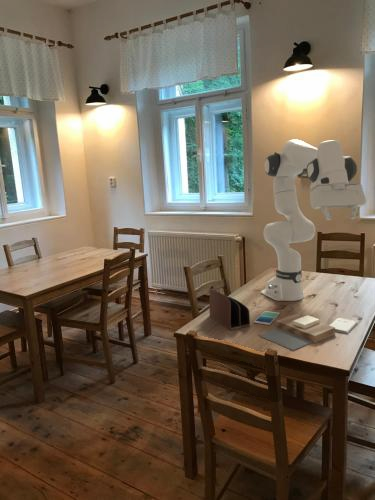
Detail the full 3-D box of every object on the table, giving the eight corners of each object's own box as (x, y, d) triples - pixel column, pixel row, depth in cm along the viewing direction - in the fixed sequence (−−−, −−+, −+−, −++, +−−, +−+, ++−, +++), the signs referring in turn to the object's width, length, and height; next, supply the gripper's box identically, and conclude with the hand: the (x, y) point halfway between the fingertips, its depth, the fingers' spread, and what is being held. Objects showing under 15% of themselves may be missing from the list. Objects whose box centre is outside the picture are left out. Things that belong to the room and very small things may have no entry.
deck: (275, 327, 171) (275, 320, 170) (295, 320, 177) (295, 313, 177) (315, 343, 155) (315, 335, 154) (334, 334, 161) (334, 327, 160)
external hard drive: (326, 330, 166) (337, 320, 176) (347, 335, 161) (357, 324, 171) (326, 327, 166) (337, 317, 175) (347, 331, 161) (357, 320, 170)
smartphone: (280, 312, 186) (269, 324, 173) (280, 314, 186) (269, 326, 174) (264, 310, 190) (253, 322, 177) (264, 312, 190) (253, 323, 177)
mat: (258, 335, 164) (258, 334, 164) (277, 328, 170) (277, 327, 170) (293, 351, 149) (293, 350, 149) (312, 342, 155) (312, 341, 155)
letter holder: (229, 331, 170) (228, 299, 167) (209, 316, 188) (208, 286, 185) (250, 326, 174) (249, 295, 171) (228, 312, 192) (227, 283, 189)
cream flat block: (292, 324, 166) (292, 320, 166) (307, 318, 171) (307, 315, 170) (304, 328, 161) (304, 325, 161) (319, 322, 166) (319, 319, 166)
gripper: (356, 184, 153) (362, 220, 151) (305, 186, 149) (311, 222, 147) (366, 178, 147) (372, 215, 145) (313, 179, 143) (319, 217, 141)
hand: (341, 219), depth 146 cm, fingers open, 8 cm apart
